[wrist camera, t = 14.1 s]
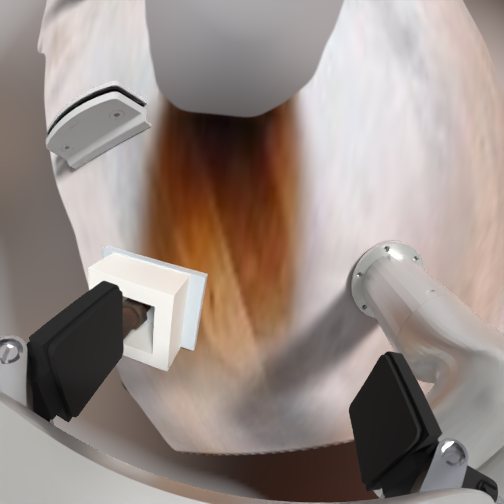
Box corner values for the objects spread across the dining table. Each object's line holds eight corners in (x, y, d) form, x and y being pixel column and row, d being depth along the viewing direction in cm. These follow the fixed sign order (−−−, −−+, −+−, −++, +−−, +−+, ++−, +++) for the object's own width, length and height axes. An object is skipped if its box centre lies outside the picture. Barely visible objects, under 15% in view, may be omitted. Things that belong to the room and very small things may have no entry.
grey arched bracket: (75, 170, 38) (33, 154, 28) (75, 147, 39) (35, 129, 29) (153, 125, 35) (114, 93, 26) (150, 102, 36) (115, 69, 26)
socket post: (207, 273, 41) (191, 299, 33) (195, 345, 45) (181, 377, 37) (107, 245, 42) (77, 261, 33) (107, 315, 46) (83, 338, 38)
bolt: (144, 320, 43) (100, 374, 29) (124, 298, 42) (73, 346, 28) (165, 303, 42) (120, 359, 27) (144, 279, 41) (90, 327, 27)
